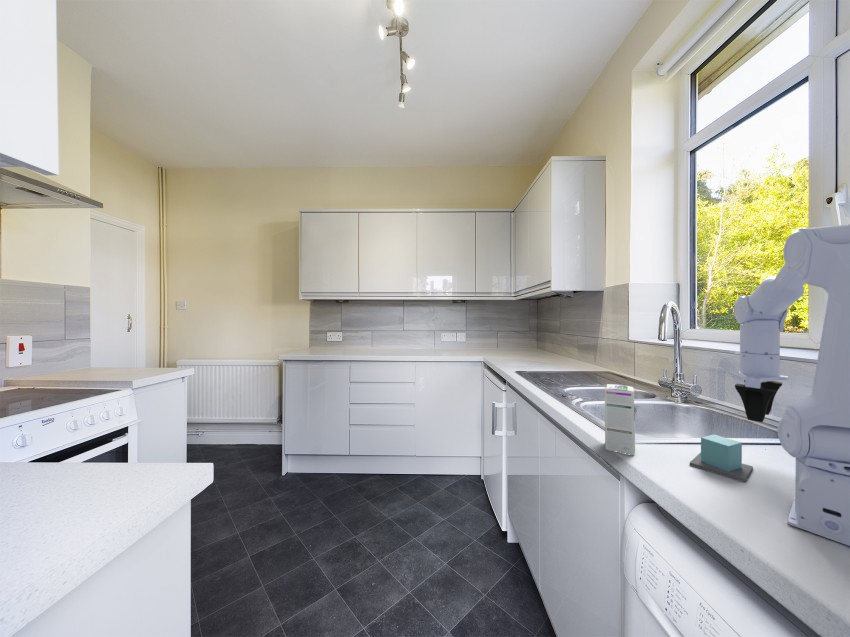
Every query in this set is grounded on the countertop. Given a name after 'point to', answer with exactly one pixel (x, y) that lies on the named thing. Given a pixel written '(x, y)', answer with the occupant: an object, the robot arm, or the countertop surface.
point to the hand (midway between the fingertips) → (758, 417)
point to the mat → (736, 474)
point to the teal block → (721, 452)
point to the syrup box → (619, 418)
